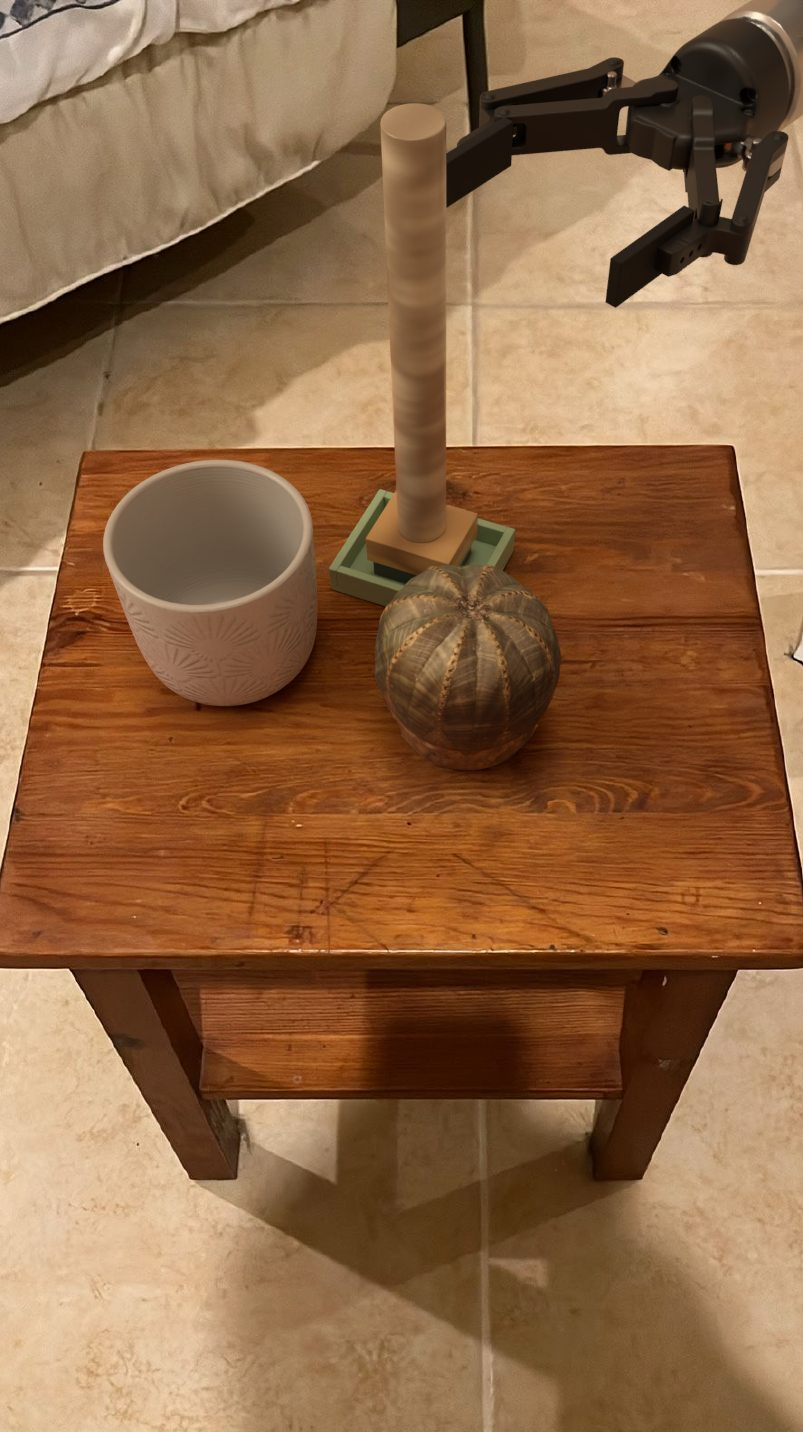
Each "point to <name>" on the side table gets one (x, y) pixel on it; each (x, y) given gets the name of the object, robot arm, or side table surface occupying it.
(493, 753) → the brown ribbed round dome
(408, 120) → the paper towel holder
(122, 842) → the side table surface
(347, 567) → the tray
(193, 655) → the planter
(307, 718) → the side table surface
